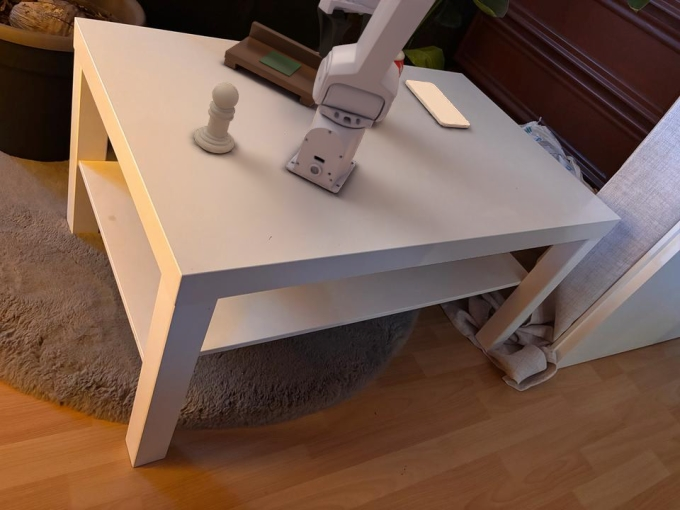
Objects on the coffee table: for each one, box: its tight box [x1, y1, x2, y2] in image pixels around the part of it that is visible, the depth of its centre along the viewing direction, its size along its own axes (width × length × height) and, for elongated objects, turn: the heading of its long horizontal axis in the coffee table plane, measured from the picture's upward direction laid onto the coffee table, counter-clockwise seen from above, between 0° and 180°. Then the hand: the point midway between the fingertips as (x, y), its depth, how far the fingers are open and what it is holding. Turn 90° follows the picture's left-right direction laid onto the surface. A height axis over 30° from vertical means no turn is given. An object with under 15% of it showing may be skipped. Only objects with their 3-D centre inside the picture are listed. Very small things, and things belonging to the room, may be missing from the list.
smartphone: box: [405, 79, 471, 129], centre depth 109 cm, size 7×1×15 cm
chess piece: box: [193, 82, 240, 154], centre depth 73 cm, size 5×5×9 cm
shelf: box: [223, 20, 323, 108], centre depth 94 cm, size 10×16×5 cm, turn 71°
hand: (342, 57), depth 86 cm, fingers open, 7 cm apart
